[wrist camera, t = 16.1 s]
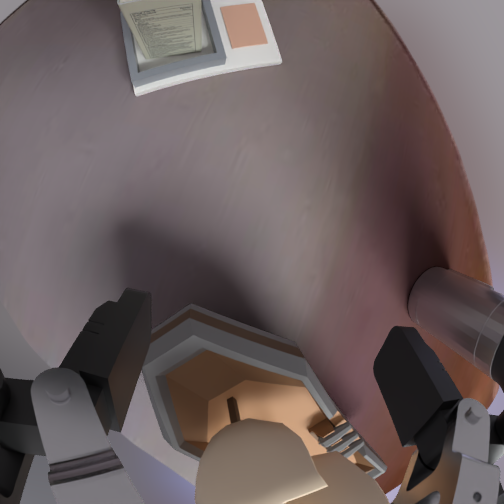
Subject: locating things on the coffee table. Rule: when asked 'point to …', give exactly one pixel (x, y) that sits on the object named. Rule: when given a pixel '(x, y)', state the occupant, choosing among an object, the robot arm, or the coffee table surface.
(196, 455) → the sailing ship
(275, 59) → the plate
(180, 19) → the skincare box
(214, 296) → the coffee table surface
